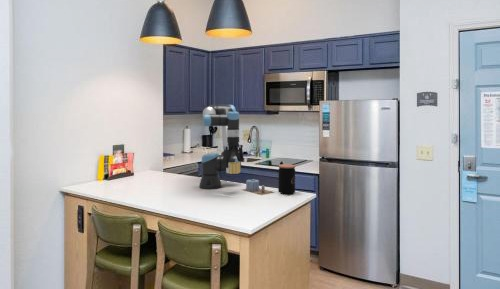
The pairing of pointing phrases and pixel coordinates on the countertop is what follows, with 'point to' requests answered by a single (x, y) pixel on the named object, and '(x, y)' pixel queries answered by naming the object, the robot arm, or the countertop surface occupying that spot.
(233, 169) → the gear
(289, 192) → the coffee jar
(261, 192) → the gear board
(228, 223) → the countertop surface
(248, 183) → the gear
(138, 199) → the countertop surface
